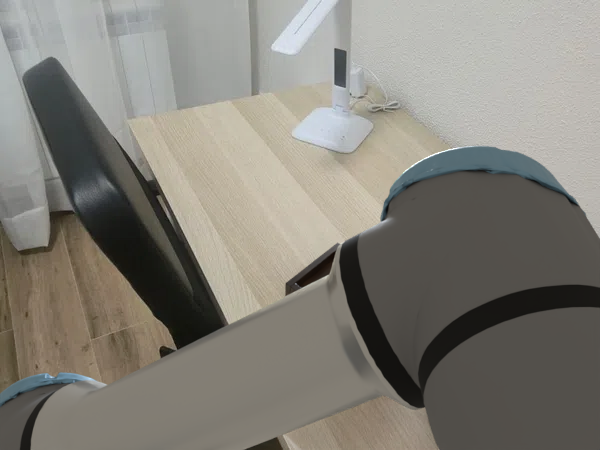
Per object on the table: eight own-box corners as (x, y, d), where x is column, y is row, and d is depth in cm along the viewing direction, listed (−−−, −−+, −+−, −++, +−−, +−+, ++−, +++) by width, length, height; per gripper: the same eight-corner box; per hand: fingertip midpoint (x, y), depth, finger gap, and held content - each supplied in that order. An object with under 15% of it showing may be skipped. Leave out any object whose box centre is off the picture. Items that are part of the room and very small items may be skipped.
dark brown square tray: (348, 349, 76) (351, 328, 73) (284, 303, 82) (285, 283, 79) (397, 301, 83) (402, 280, 80) (335, 262, 89) (337, 242, 86)
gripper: (563, 546, 56) (390, 415, 66) (640, 388, 70) (488, 301, 81) (591, 515, 51) (400, 379, 61) (667, 352, 65) (502, 264, 76)
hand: (450, 334), depth 71 cm, fingers open, 13 cm apart
